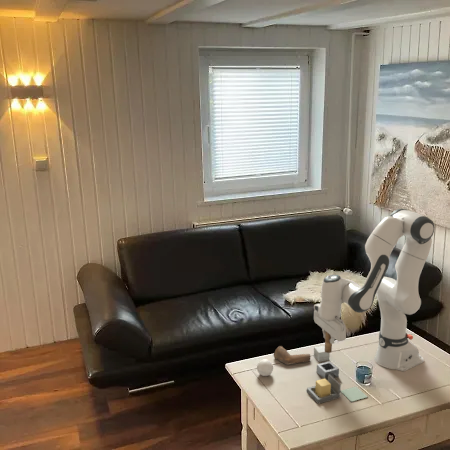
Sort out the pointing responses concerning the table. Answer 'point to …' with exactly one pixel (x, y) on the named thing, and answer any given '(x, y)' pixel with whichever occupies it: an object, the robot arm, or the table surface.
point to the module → (322, 388)
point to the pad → (353, 394)
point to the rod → (328, 343)
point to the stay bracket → (327, 370)
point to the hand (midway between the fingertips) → (328, 340)
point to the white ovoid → (264, 367)
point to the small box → (321, 353)
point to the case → (335, 394)
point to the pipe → (290, 356)
